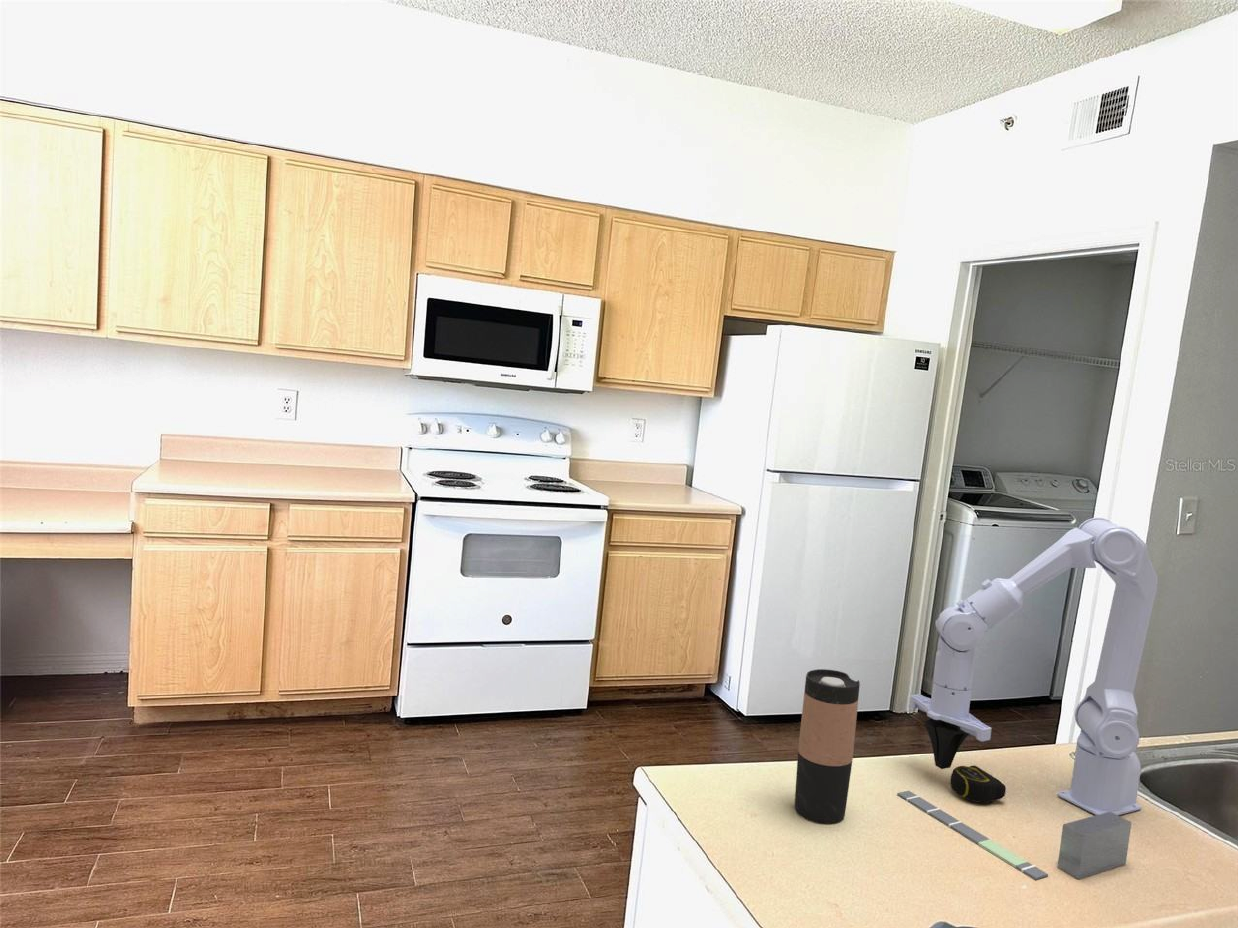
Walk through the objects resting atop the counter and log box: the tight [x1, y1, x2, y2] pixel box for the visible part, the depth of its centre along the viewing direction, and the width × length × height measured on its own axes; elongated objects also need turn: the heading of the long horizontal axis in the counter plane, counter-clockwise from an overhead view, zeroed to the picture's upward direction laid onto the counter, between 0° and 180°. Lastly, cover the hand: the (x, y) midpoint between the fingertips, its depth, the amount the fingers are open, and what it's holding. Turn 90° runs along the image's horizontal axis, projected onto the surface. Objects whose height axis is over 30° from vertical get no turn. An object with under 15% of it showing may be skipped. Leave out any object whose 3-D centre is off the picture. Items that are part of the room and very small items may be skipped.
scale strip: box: [896, 790, 1049, 881], centre depth 123 cm, size 2×24×1 cm, turn 28°
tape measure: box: [949, 765, 1007, 804], centre depth 135 cm, size 7×7×4 cm
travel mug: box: [794, 668, 861, 825], centre depth 125 cm, size 8×8×20 cm
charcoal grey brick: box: [1057, 812, 1132, 880], centre depth 117 cm, size 10×4×6 cm, turn 118°
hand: (942, 766), depth 139 cm, fingers closed
